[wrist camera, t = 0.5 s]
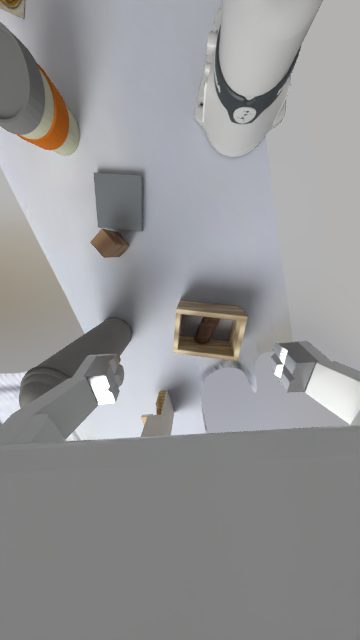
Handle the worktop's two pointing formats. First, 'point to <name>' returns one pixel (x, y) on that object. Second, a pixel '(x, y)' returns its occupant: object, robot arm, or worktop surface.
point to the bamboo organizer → (213, 346)
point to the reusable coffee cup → (33, 100)
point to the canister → (74, 358)
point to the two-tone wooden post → (161, 418)
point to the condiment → (13, 7)
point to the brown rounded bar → (206, 329)
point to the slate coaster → (119, 201)
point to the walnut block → (109, 243)
